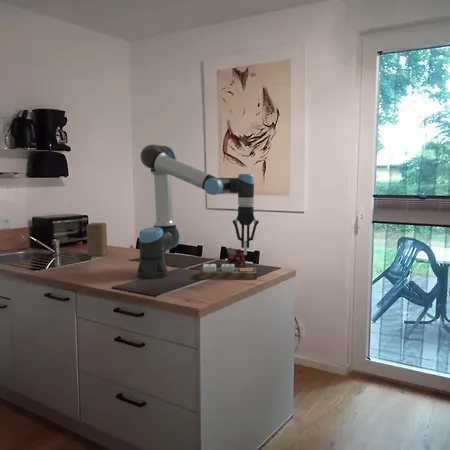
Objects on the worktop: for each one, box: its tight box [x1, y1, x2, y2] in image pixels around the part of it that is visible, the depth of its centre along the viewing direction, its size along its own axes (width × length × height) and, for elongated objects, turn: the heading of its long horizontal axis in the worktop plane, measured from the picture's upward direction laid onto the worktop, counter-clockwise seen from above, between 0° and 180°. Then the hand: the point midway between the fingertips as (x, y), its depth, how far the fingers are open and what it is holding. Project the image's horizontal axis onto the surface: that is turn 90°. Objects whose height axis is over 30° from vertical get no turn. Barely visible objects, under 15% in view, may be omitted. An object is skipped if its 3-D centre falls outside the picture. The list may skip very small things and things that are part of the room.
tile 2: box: [220, 263, 234, 272], centre depth 220 cm, size 6×6×3 cm
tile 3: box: [239, 267, 254, 272], centre depth 219 cm, size 6×6×3 cm
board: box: [197, 267, 258, 280], centre depth 220 cm, size 28×12×3 cm, turn 86°
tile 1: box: [202, 263, 217, 272], centre depth 220 cm, size 6×6×3 cm
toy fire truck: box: [224, 247, 247, 268], centre depth 239 cm, size 7×12×10 cm, turn 42°
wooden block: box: [86, 222, 108, 257], centre depth 282 cm, size 10×10×20 cm
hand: (245, 254), depth 218 cm, fingers closed
